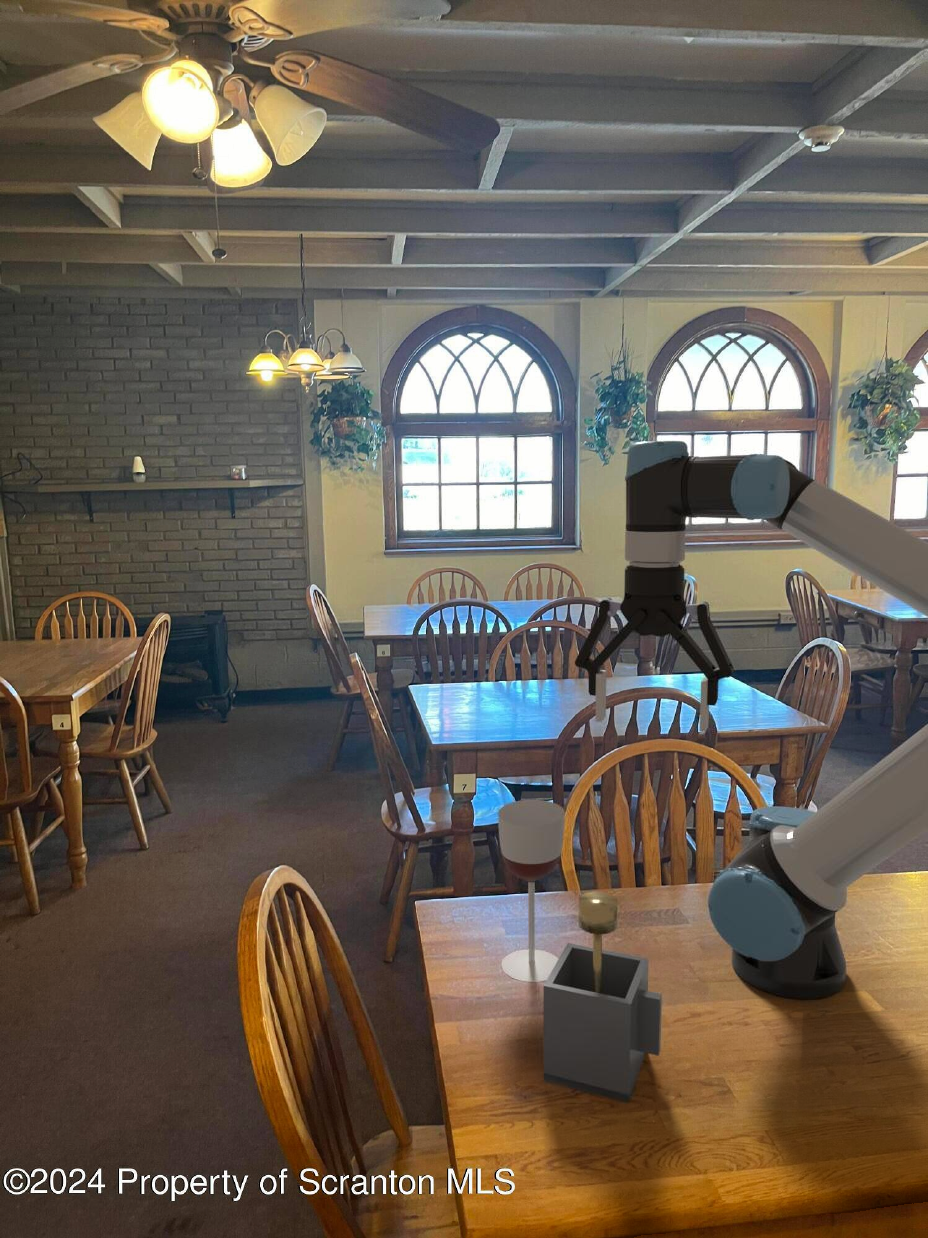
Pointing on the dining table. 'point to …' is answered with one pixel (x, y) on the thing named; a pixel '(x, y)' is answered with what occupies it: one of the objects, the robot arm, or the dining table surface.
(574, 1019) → the press pot
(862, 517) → the robot arm
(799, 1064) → the dining table surface
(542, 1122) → the dining table surface
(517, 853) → the wineglass
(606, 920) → the plunger
